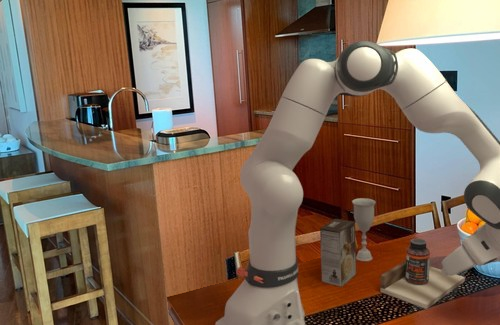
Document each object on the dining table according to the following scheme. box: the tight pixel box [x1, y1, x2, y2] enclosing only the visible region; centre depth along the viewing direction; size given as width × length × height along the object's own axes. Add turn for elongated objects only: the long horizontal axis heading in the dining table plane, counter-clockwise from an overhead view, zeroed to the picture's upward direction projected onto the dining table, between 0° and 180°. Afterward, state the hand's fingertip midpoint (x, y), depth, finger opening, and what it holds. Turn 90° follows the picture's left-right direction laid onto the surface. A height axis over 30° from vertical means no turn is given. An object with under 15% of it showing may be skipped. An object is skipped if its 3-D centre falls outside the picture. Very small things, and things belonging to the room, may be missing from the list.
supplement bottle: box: [405, 238, 431, 285], centre depth 129 cm, size 6×6×11 cm
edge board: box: [380, 260, 466, 310], centre depth 129 cm, size 20×13×5 cm, turn 131°
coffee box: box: [319, 218, 357, 287], centre depth 135 cm, size 9×6×16 cm
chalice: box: [351, 197, 377, 262], centre depth 147 cm, size 7×7×18 cm
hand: (456, 266), depth 120 cm, fingers open, 8 cm apart
